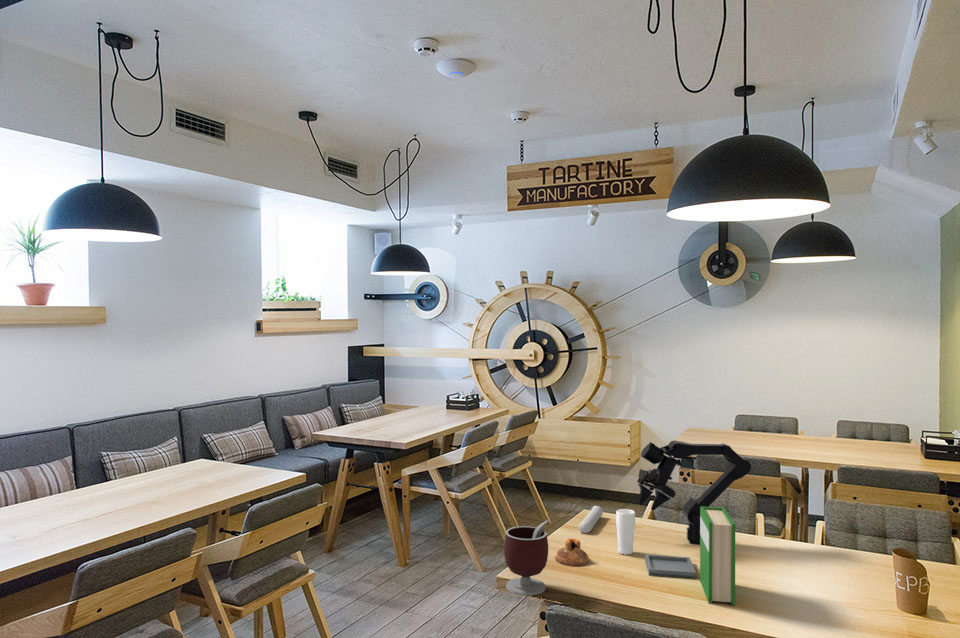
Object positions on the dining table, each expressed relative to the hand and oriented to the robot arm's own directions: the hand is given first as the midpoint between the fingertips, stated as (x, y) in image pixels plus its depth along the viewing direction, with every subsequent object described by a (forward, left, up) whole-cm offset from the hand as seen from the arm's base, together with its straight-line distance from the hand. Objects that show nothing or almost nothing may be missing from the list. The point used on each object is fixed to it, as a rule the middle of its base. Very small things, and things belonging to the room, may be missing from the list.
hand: (645, 507), depth 239 cm
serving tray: (-6, +24, -14) cm, 28 cm away
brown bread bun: (+27, +22, -14) cm, 38 cm away
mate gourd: (+40, +48, -14) cm, 64 cm away
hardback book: (-18, +41, -14) cm, 47 cm away
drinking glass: (+8, +11, -14) cm, 20 cm away
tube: (+20, -19, -14) cm, 31 cm away
